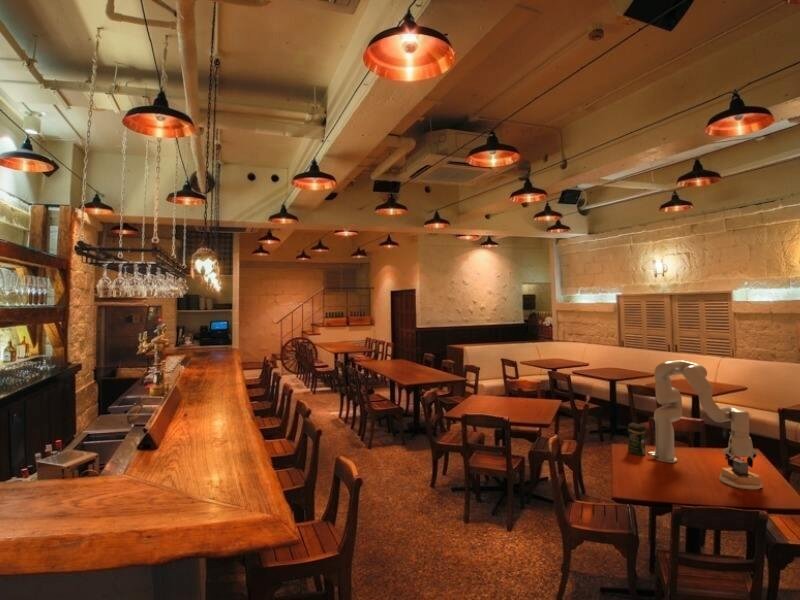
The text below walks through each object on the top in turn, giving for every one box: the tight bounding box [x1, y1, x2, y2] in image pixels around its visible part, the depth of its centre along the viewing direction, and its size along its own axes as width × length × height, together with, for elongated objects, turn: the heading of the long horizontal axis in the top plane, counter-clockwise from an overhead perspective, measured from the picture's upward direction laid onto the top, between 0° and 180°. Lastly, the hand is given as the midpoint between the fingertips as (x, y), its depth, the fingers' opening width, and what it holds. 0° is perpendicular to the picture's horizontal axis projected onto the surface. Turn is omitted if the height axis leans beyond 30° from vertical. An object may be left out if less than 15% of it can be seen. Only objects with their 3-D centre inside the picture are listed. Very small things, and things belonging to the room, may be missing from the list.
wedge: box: [731, 458, 749, 475], centre depth 238 cm, size 4×6×10 cm, turn 177°
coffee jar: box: [627, 422, 647, 456], centre depth 284 cm, size 10×8×19 cm
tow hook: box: [724, 455, 745, 461], centre depth 273 cm, size 8×13×9 cm
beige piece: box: [719, 467, 763, 491], centre depth 238 cm, size 18×18×6 cm
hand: (740, 466), depth 238 cm, fingers open, 9 cm apart
